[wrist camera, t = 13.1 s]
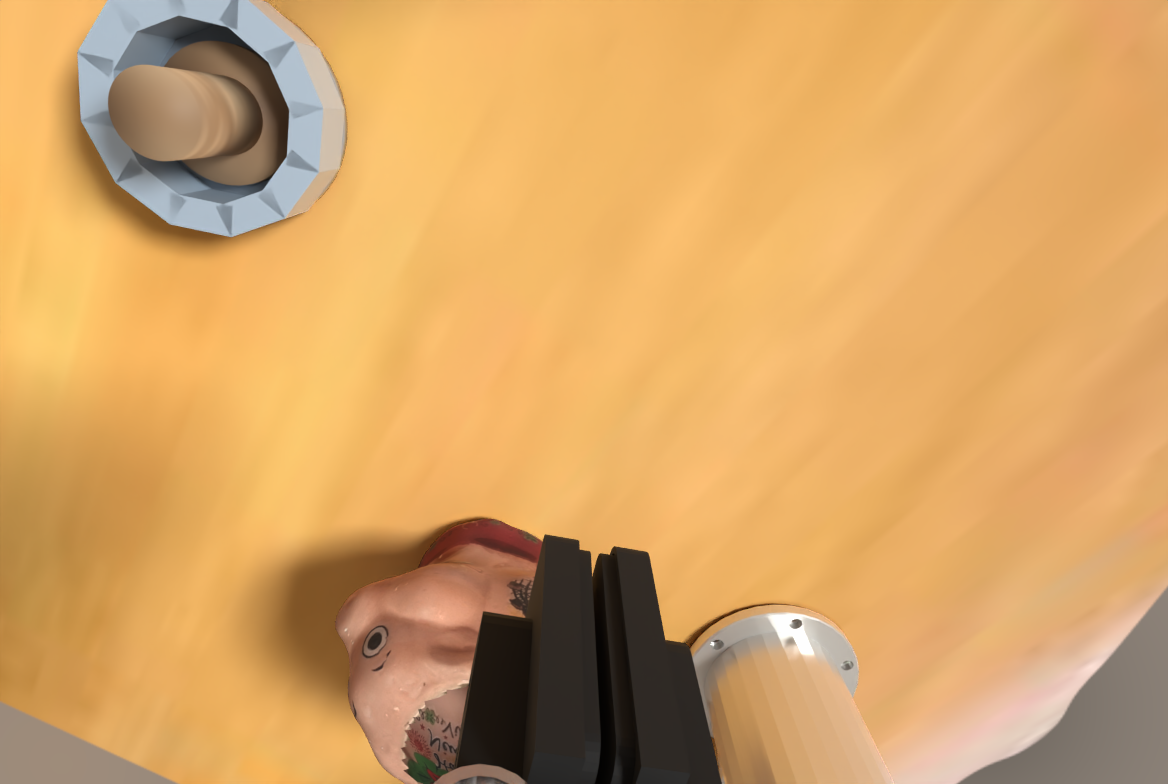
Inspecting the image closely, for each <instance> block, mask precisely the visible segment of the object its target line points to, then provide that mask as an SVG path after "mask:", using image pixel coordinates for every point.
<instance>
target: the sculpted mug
mask: <svg viewBox="0 0 1168 784" xmlns="http://www.w3.org/2000/svg"><path fill="white" fill-rule="evenodd" d="M542 543H543V542H542V541H541V540H540V539H538V538H537V537H535V536H533V535H532V534H530V533H528V532H525V531H522V530H520V529H517V528H514V527H512V526H509V525H507V524H505V523H503V522H501V521H498V520H495V519H480V520H475V521H471V522H467V523H463V524H459V525H456V526H454V527H452V528H450V529H449V530H447V531H446V532H445V533H443V534H442V535H441V536H440V537H439V538H438V539H437V540H436V541H435V542H434V543H433V544H432V545H431V547H430V548H429V549H428V550H427V552H426V553H425V555H424V557H423V558H422V560H421V562H420V564H419V567H418V569H416V570H413V571H411V572H408V573H405V574H402V575H399V576H395V577H391V578H387V579H384V580H381V581H377V582H374V583H371V584H368V585H366V586H364V587H362V588H360V589H358V590H356V591H355V592H354V593H353V594H351V595H350V596H349V597H348V599H347V600H346V601H345V603H344V604H343V606H342V607H341V609H340V611H339V613H338V615H337V618H336V621H335V626H336V630H337V632H338V634H339V636H340V637H341V639H342V641H343V642H344V644H345V646H346V649H347V651H348V654H349V661H350V677H349V682H348V697H349V703H350V706H351V709H352V712H353V714H354V716H355V718H356V720H357V721H358V723H359V724H360V726H361V727H362V729H363V731H364V733H365V735H366V737H367V739H368V741H369V743H370V746H371V748H372V750H373V752H374V754H375V757H376V758H377V760H378V762H379V763H380V764H381V766H382V767H383V768H384V769H385V770H386V771H387V772H389V773H390V774H391V775H392V776H394V777H395V778H397V779H399V780H401V781H402V782H404V783H405V784H434V783H435V782H436V781H437V780H438V779H439V778H440V777H441V776H442V775H444V774H446V773H449V772H451V771H453V768H454V763H455V757H456V751H457V746H458V740H459V734H460V729H461V723H462V717H463V712H464V706H465V701H466V695H467V690H468V684H469V679H470V674H471V668H472V663H473V658H474V653H475V648H476V643H477V638H478V633H479V628H480V623H481V618H482V614H483V611H486V612H492V613H498V614H504V615H511V616H517V617H523V618H525V616H526V612H527V607H528V603H529V599H530V594H531V590H532V586H533V581H534V577H535V573H536V568H537V564H538V560H539V555H540V551H541V547H542Z"/></svg>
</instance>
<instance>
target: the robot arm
mask: <svg viewBox="0 0 1168 784" xmlns="http://www.w3.org/2000/svg"><path fill="white" fill-rule="evenodd" d="M858 677H859V667H858V660H857V657H856V655H855V652H854V650H853V648H852V646H851V644H850V642H849V640H848V639H847V637H846V635H845V634H844V632H843V631H842V630H841V629H840V628H839V627H838V626H837V625H836V624H835V623H834V622H832V621H831V620H829V619H828V618H826V617H825V616H823V615H822V614H819V613H817V612H814V611H812V610H809V609H806V608H801V607H797V606H792V605H766V606H757V607H753V608H749V609H746V610H742V611H739V612H736V613H734V614H732V615H730V616H727V617H725V618H723V619H722V620H720V621H719V622H717V623H715V624H714V625H712V626H711V627H709V628H708V629H707V630H706V631H705V632H704V633H703V634H702V635H701V636H700V637H698V639H697V640H696V641H695V643H694V644H693V645H692V647H691V648H689V646H688V645H687V644H686V643H681V642H674V641H668V640H665V636H664V631H663V626H662V621H661V615H660V610H659V605H658V599H657V594H656V589H655V584H654V578H653V573H652V568H651V562H650V557H649V554H648V553H647V552H644V551H638V550H633V549H627V548H621V547H615V546H614V547H613V548H612V550H611V553H610V555H608V554H602V553H600V554H599V556H598V558H597V561H596V565H595V569H594V572H593V576H592V567H591V553H590V551H584V550H579V541H578V540H574V539H569V538H563V537H557V536H551V535H545V536H544V539H543V543H542V547H541V551H540V555H539V560H538V564H537V568H536V573H535V577H534V581H533V586H532V590H531V594H530V599H529V603H528V607H527V612H526V616H525V618H523V617H517V616H511V615H504V614H498V613H492V612H486V611H483V614H482V618H481V623H480V628H479V633H478V638H477V643H476V648H475V653H474V658H473V663H472V668H471V674H470V679H469V684H468V690H467V695H466V701H465V706H464V712H463V717H462V723H461V729H460V734H459V740H458V746H457V751H456V757H455V763H454V768H453V771H451V772H449V773H446V774H444V775H442V776H441V777H440V778H439V779H438V780H437V781H436V782H435V783H434V784H895V783H894V781H893V778H892V776H891V774H890V772H889V770H888V768H887V766H886V764H885V762H884V760H883V758H882V756H881V754H880V752H879V750H878V748H877V746H876V744H875V742H874V740H873V738H872V736H871V734H870V732H869V730H868V728H867V726H866V724H865V722H864V720H863V718H862V716H861V714H860V712H859V710H858V708H857V706H856V704H855V702H854V700H853V697H854V694H855V691H856V688H857V685H858ZM711 737H712V738H714V740H715V744H716V748H717V752H718V765H719V769H718V765H717V761H716V756H715V752H714V748H713V743H712V739H711Z"/></svg>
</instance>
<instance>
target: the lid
mask: <svg viewBox="0 0 1168 784" xmlns="http://www.w3.org/2000/svg"><path fill="white" fill-rule="evenodd" d="M108 110H109V115H110V118H111V121H112V124H113V126H114V128H115V130H116V131H117V133H118V135H119V136H120V137H121V138H122V140H123V141H124V142H125V143H126V144H127V145H128V146H129V147H130V148H131V149H133V150H134V151H135V152H137V153H138V154H140V155H142V156H144V157H147V158H149V159H152V160H157V161H175V160H182V161H183V162H184V163H185V164H186V165H187V166H188V167H189V168H191V169H192V170H193V171H195V172H196V173H198V174H199V175H201V176H203V177H205V178H207V179H209V180H212V181H214V182H218V183H221V184H226V185H239V186H241V185H249V184H254V183H259V182H263V181H267V180H269V179H271V178H272V177H273V175H274V174H275V172H276V171H277V170H278V168H279V167H280V165H281V164H282V163H283V161H284V160H285V158H286V157H287V145H288V127H289V108H288V105H287V103H286V101H285V99H284V96H283V94H282V92H281V90H280V88H279V85H278V83H277V81H276V79H275V76H274V74H273V72H272V70H271V67H270V65H269V63H268V62H267V61H266V60H265V59H264V58H263V57H262V56H261V55H259V54H258V53H257V52H255V51H253V50H251V49H248V48H246V47H243V46H239V45H235V44H231V43H227V42H221V41H202V42H197V43H193V44H190V45H188V46H186V47H184V48H182V49H181V50H179V51H178V52H176V53H175V54H174V55H173V56H172V57H171V58H170V59H169V60H168V62H167V63H166V64H165V66H164V67H160V66H153V65H135V66H132V67H129V68H127V69H125V70H124V71H122V72H121V73H120V74H119V75H118V76H117V77H116V78H115V80H114V81H113V83H112V85H111V87H110V90H109V95H108Z"/></svg>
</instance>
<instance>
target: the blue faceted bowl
mask: <svg viewBox="0 0 1168 784" xmlns="http://www.w3.org/2000/svg"><path fill="white" fill-rule="evenodd" d="M202 41H221V42H227V43H231V44H235V45H239V46H243V47H246V48H248V49H251V50H253V51H255V52H257V53H258V54H259V55H261V56H262V57H263V58H264V59H265V60H266V61H267V62H268V63H269V65H270V67H271V70H272V72H273V74H274V76H275V79H276V81H277V83H278V85H279V88H280V90H281V92H282V94H283V96H284V99H285V101H286V103H287V105H288V108H289V127H288V145H287V157H286V158H285V160H284V161H283V163H282V164H281V165H280V167H279V168H278V170H277V171H276V172H275V174H274V175H273V177H272V178H271V179H269V180H267V181H263V182H259V183H254V184H249V185H241V186H239V185H226V184H221V183H218V182H214V181H212V180H209V179H207V178H205V177H203V176H201V175H199V174H198V173H196V172H195V171H193V170H192V169H191V168H189V167H188V166H187V165H186V164H185V163H184V162H183V161H182V160H175V161H157V160H152V159H149V158H147V157H144V156H142V155H140V154H138V153H137V152H135V151H134V150H133V149H131V148H130V147H129V146H128V145H127V144H126V143H125V142H124V141H123V140H122V138H121V137H120V136H119V135H118V133H117V131H116V130H115V128H114V126H113V124H112V121H111V118H110V115H109V110H108V95H109V90H110V87H111V85H112V83H113V81H114V80H115V78H116V77H117V76H118V75H119V74H120V73H121V72H122V71H124V70H125V69H127V68H129V67H132V66H135V65H153V66H160V67H164V66H165V64H166V63H167V62H168V60H169V59H170V58H171V57H172V56H173V55H174V54H175V53H176V52H178V51H179V50H181V49H182V48H184V47H186V46H188V45H190V44H193V43H197V42H202ZM77 53H78V73H79V94H80V114H81V122H82V124H83V125H84V127H85V129H86V131H87V133H88V134H89V136H90V138H91V140H92V142H93V143H94V145H95V147H96V149H97V151H98V152H99V154H100V156H101V158H102V160H103V161H104V163H105V165H106V167H107V169H108V170H109V172H110V174H111V176H112V178H113V179H114V181H115V183H116V184H118V185H119V186H120V187H122V188H123V189H124V190H126V191H127V192H128V193H129V194H131V195H132V196H133V197H135V198H136V199H137V200H139V201H140V202H141V203H143V204H144V205H145V206H147V207H148V208H149V209H151V210H152V211H153V212H154V213H156V214H157V215H158V216H160V217H161V218H162V219H164V220H165V221H166V222H168V223H169V224H170V225H175V226H180V227H185V228H190V229H195V230H200V231H204V232H209V233H214V234H219V235H224V236H229V237H233V236H236V235H239V234H242V233H245V232H248V231H251V230H254V229H257V228H259V227H262V226H265V225H268V224H271V223H274V222H277V221H280V220H282V219H286V218H288V217H291V216H294V215H297V214H300V213H303V212H306V211H309V209H310V208H311V206H312V205H313V204H314V203H315V202H316V201H317V200H319V199H320V198H321V197H322V196H323V195H324V193H325V192H326V191H327V190H328V189H329V187H330V186H331V184H332V183H333V181H334V180H335V178H336V176H337V174H338V172H339V169H340V167H341V165H342V161H343V158H344V154H345V149H346V143H347V116H346V108H345V104H344V99H343V95H342V92H341V89H340V86H339V84H338V81H337V79H336V77H335V74H334V72H333V70H332V68H331V66H330V65H329V63H328V61H327V60H326V58H325V57H324V55H323V53H322V52H321V51H320V49H319V48H318V47H317V46H316V44H315V43H314V42H313V41H312V39H311V38H310V37H309V36H308V35H307V34H306V33H305V32H304V31H303V30H302V29H301V28H299V27H298V26H297V25H296V24H294V23H293V22H292V21H291V20H289V19H288V18H287V17H285V16H283V15H282V14H280V13H279V12H278V11H277V10H276V9H275V8H273V7H272V6H271V5H270V4H269V3H267V2H265V1H262V0H108V1H107V2H106V4H105V6H104V7H103V9H102V11H101V13H100V14H99V16H98V18H97V19H96V21H95V23H94V25H93V26H92V28H91V30H90V31H89V33H88V35H87V37H86V38H85V40H84V42H83V43H82V45H81V47H80V49H79V50H78V52H77Z"/></svg>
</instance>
